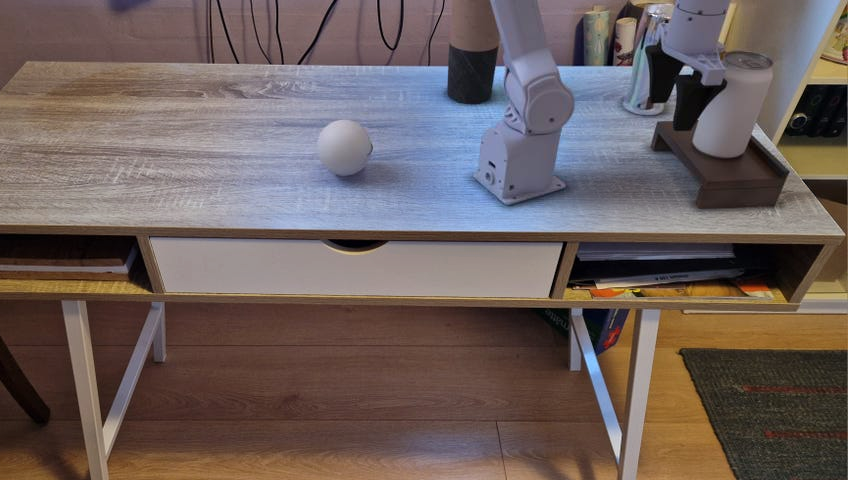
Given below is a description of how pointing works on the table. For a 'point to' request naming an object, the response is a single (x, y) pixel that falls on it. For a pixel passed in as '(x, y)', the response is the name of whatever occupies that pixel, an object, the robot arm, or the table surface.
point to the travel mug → (472, 51)
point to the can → (734, 105)
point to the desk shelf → (726, 170)
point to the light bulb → (344, 147)
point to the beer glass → (645, 59)
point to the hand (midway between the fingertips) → (669, 115)
